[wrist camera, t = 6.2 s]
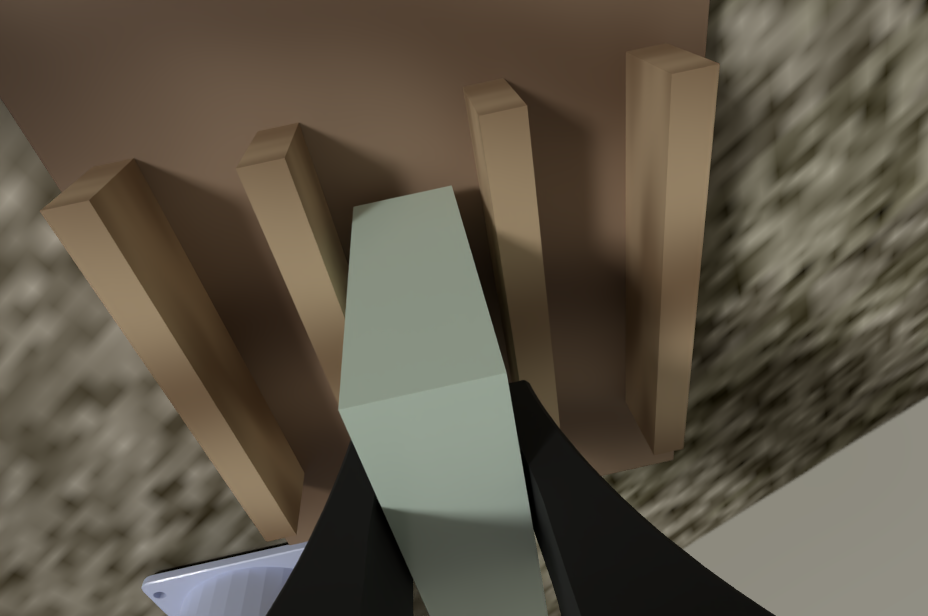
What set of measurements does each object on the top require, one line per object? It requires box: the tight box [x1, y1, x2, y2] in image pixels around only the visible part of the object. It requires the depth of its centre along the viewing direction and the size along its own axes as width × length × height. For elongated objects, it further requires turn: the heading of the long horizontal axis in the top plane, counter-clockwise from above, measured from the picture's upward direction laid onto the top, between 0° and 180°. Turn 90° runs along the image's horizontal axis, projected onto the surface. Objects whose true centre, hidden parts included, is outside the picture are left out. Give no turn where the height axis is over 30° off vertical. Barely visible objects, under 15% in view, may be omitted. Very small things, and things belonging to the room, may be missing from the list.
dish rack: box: [0, 0, 720, 545], centre depth 16 cm, size 20×16×4 cm
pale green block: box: [338, 185, 548, 616], centre depth 13 cm, size 8×2×7 cm, turn 10°
